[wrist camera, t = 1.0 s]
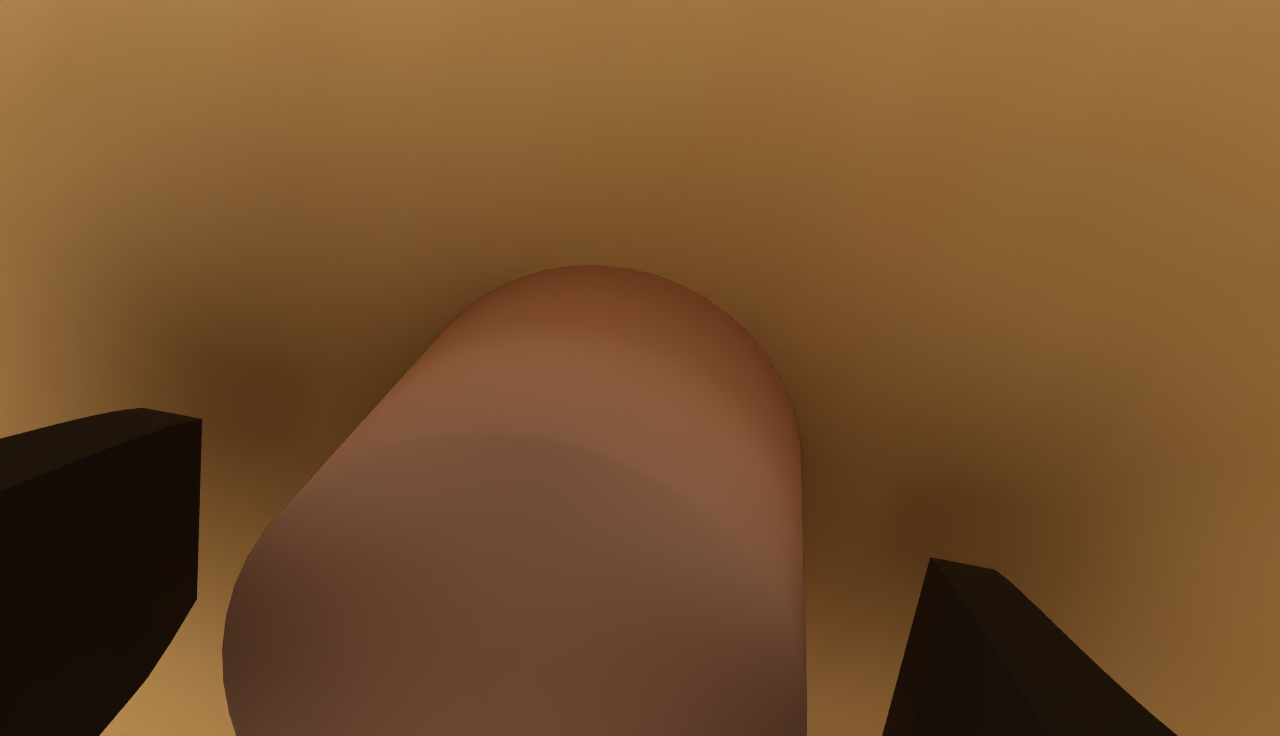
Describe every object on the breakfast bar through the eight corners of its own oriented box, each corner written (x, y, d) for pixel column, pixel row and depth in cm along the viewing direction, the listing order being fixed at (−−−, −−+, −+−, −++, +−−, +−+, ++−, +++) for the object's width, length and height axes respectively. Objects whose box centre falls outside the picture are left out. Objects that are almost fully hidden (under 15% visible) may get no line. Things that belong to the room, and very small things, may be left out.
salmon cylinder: (839, 306, 13) (866, 499, 9) (759, 668, 15) (746, 992, 10) (422, 231, 14) (231, 378, 9) (389, 593, 15) (213, 877, 11)
